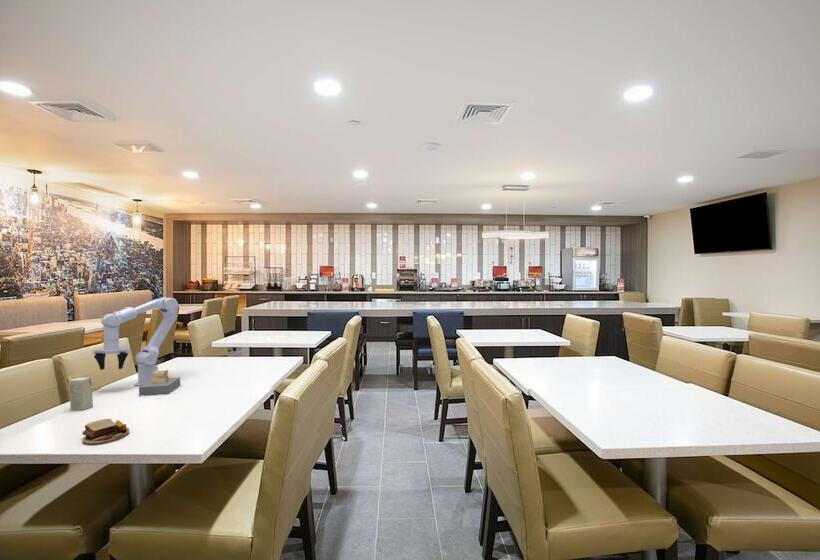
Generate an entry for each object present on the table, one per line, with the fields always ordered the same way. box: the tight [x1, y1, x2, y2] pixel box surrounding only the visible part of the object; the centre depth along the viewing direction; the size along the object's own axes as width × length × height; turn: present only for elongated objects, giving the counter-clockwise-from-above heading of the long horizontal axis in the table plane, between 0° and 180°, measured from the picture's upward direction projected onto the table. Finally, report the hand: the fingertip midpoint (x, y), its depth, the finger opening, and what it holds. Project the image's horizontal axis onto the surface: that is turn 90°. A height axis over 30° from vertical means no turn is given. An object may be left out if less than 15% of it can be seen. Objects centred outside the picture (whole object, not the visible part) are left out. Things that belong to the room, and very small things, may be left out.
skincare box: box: [68, 377, 94, 411], centre depth 161 cm, size 6×4×12 cm
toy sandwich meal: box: [82, 418, 130, 445], centre depth 132 cm, size 12×14×5 cm
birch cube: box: [152, 369, 169, 384], centre depth 184 cm, size 5×5×5 cm
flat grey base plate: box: [138, 376, 181, 396], centre depth 184 cm, size 14×12×4 cm
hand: (111, 368), depth 184 cm, fingers open, 7 cm apart
